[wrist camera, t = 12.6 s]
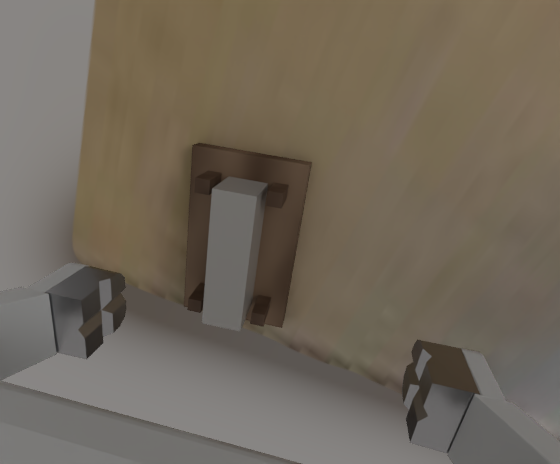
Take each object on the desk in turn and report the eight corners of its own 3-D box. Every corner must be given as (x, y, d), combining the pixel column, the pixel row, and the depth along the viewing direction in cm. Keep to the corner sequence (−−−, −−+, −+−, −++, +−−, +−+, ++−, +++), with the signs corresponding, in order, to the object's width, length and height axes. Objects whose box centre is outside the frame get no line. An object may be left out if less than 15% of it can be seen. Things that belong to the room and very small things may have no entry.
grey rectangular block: (268, 183, 30) (256, 196, 26) (251, 304, 35) (240, 331, 31) (229, 176, 31) (212, 188, 27) (217, 296, 35) (201, 323, 31)
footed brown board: (311, 162, 31) (307, 172, 26) (284, 318, 37) (276, 347, 32) (199, 143, 32) (177, 149, 27) (189, 298, 37) (170, 323, 33)
